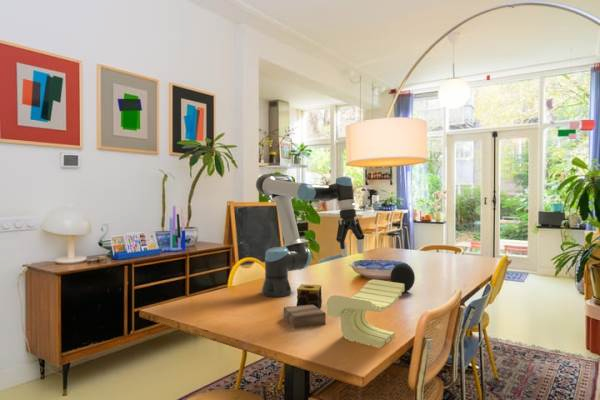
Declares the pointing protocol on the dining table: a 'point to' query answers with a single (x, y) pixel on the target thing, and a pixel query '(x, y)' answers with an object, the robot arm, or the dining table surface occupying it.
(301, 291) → the candle
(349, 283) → the dining table surface
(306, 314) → the walnut block
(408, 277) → the decorative egg
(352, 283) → the dining table surface
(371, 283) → the slatted curved stool
